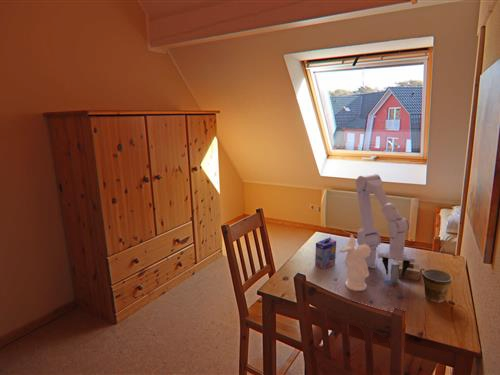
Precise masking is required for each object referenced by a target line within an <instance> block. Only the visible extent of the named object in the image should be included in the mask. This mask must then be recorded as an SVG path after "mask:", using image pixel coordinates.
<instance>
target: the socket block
mask: <svg viewBox="0 0 500 375" xmlns="http://www.w3.org/2000/svg"><path fill="white" fill-rule="evenodd" d="M396 263H398V264H399V278H404V279H411V280H416V281H420V275H421V273H420V270H421V269H420V264H419V262H416V261H415V263H412V262H410V265H409V267H408V268H407V269H406V271H405V273H404V276H403V277H401V274H402V267H403V261H401V260H399V261H396Z"/></svg>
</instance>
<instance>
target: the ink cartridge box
mask: <svg viewBox="0 0 500 375" xmlns="http://www.w3.org/2000/svg"><path fill="white" fill-rule="evenodd" d="M336 251H337V240H335V239H332V237H328V238H327V237H326V238H324V239H323V240H320V241H317V242H315V254H314V257H315V259H314V265H315V266H316V267H318V268H319V269H321V270H325V269H327V268H329V267H331V266H333V265H334V264H336V253H337V252H336Z"/></svg>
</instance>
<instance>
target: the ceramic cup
mask: <svg viewBox="0 0 500 375" xmlns="http://www.w3.org/2000/svg"><path fill="white" fill-rule="evenodd" d="M420 275H421V276H422V281H423V286H424V295H425V298H426V299H427V300H429V301H430V302H434V303H438V304H439V303H443V302H444V301H445V300H446V297H447V294H448V291H449V289H450V286H451V284H452V281H453V276H452V275H451V274H449V272H448V273H447V272H446V271H444V270H440V269H437V268H434V269H433V268H428V269H425V268H421V269H420Z"/></svg>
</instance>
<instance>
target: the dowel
mask: <svg viewBox="0 0 500 375" xmlns="http://www.w3.org/2000/svg"><path fill="white" fill-rule="evenodd" d="M390 267H391V268H390V276H389V277H390V278H389V279H390V282H391V283H394V284H397V283H398V282H399V278H400V277H399V264H398V263H397V262H391V265H390Z"/></svg>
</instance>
